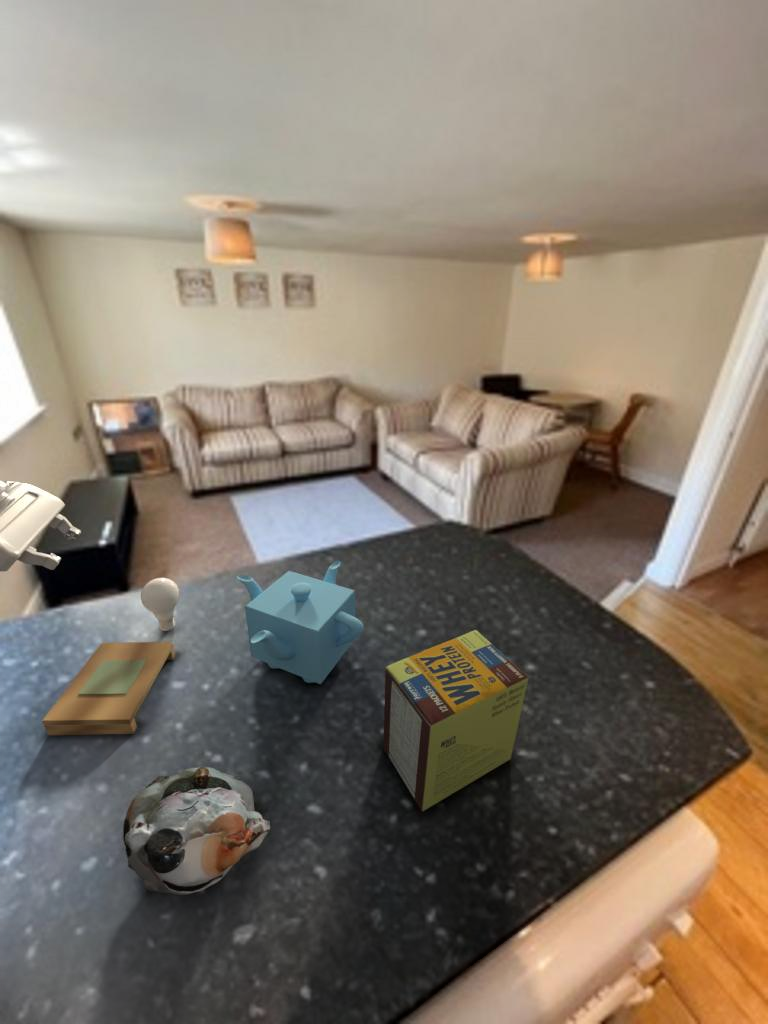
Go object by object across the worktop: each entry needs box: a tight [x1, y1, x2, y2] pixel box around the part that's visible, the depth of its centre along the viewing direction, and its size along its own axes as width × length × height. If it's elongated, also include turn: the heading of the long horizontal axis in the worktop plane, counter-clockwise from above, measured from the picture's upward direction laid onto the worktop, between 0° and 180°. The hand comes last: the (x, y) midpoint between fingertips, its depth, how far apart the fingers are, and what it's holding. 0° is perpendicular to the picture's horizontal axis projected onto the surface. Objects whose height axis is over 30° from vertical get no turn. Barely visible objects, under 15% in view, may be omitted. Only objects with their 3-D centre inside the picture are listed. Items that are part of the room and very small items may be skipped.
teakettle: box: [236, 560, 364, 685], centre depth 77 cm, size 19×19×15 cm
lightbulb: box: [140, 577, 181, 632], centre depth 83 cm, size 6×6×11 cm
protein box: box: [382, 629, 529, 812], centre depth 60 cm, size 10×15×16 cm
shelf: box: [41, 641, 176, 736], centre depth 71 cm, size 12×16×3 cm
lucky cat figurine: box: [122, 766, 271, 896], centre depth 49 cm, size 15×12×14 cm
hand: (68, 549), depth 74 cm, fingers open, 8 cm apart
